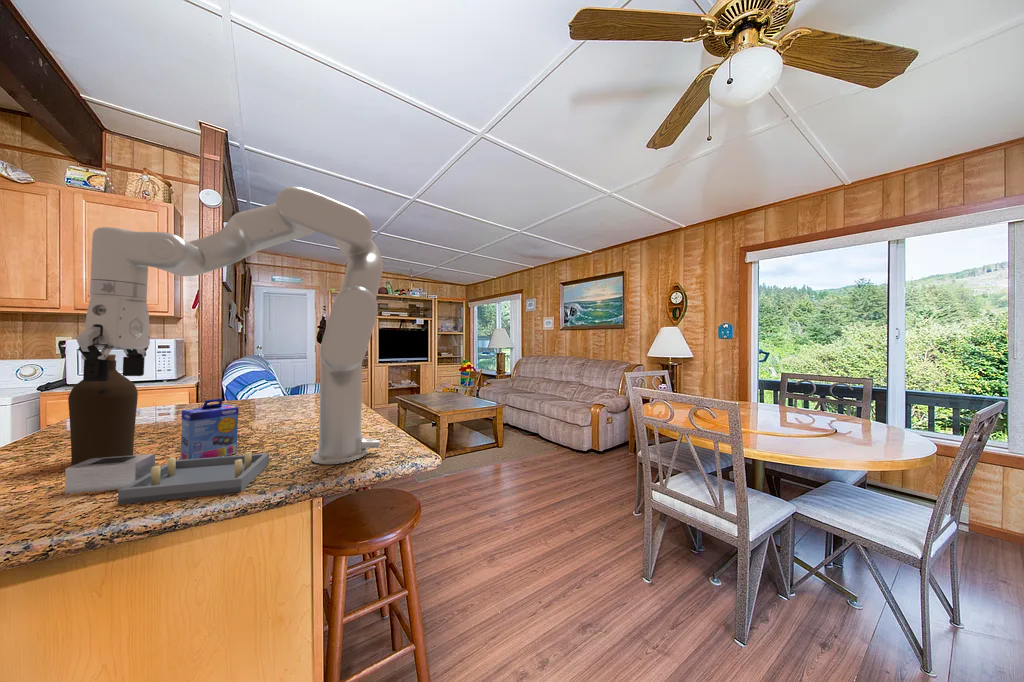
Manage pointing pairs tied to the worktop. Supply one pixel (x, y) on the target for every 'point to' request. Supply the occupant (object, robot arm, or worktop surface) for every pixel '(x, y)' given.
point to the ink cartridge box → (209, 431)
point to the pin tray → (195, 478)
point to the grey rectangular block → (107, 473)
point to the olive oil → (102, 417)
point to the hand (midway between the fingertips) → (115, 378)
